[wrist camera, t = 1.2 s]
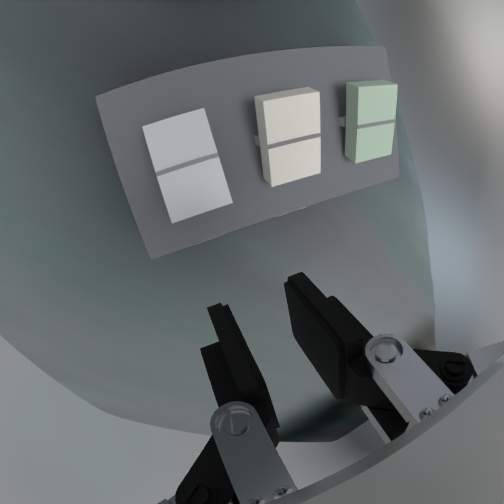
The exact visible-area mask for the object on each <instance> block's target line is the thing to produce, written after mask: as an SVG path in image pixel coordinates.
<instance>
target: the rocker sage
mask: <svg viewBox="0 0 504 504" xmlns="http://www.w3.org/2000/svg"><path fill="white" fill-rule="evenodd" d="M397 86H398V84H395V83H392V82H390V81H387V80H370V81H357V82H346V137H345V156H346V157H347V158H348V159H350V160H351V161H352V162H354V163H359V162H363V161H367V160H371V159H375V158H379V157H383V156H387V155H391V152H392V144H393V135H394V125H395V123H396V119H395V114H396V102H397Z"/></svg>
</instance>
